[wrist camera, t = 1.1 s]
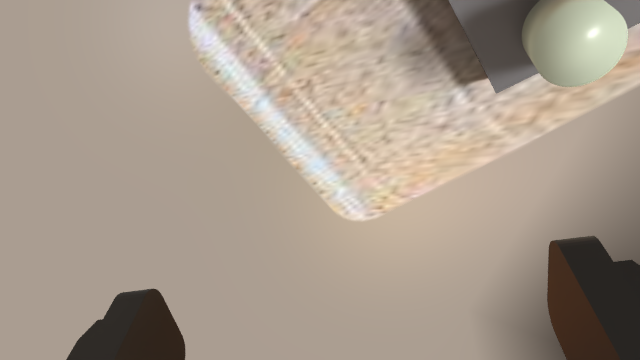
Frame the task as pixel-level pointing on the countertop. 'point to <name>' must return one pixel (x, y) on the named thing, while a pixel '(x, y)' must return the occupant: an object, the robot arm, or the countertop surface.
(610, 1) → the button panel
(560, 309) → the robot arm
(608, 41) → the sage button
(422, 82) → the countertop surface
